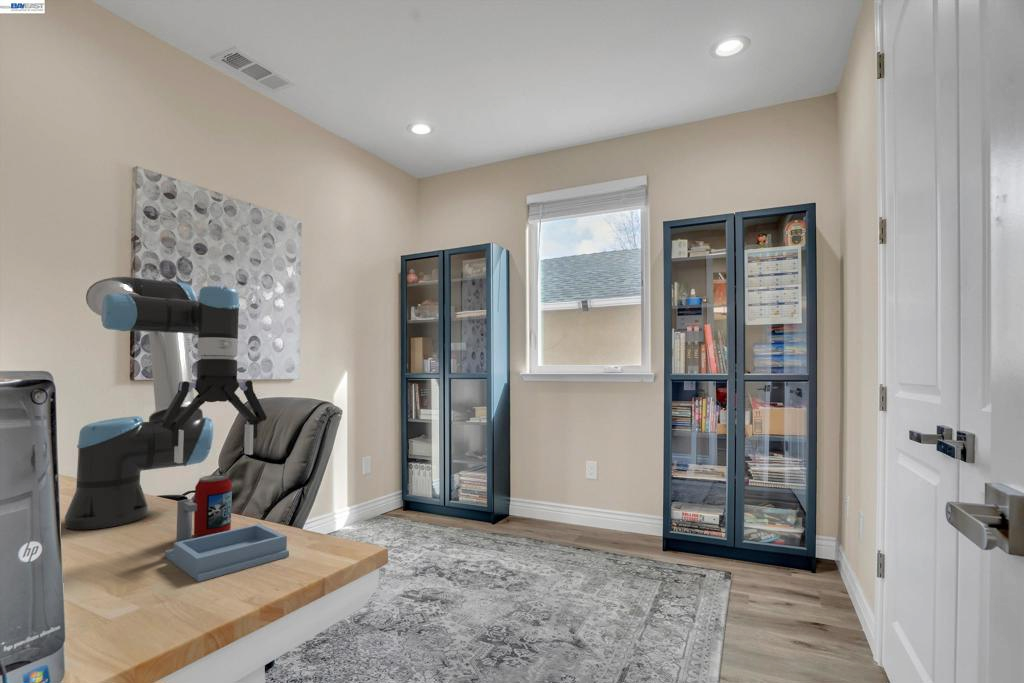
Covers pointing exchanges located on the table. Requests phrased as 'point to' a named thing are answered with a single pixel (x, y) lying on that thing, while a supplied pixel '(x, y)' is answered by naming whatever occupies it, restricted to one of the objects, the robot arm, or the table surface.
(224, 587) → the table surface
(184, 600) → the table surface
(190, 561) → the light blue hollow tray
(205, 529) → the beverage can
